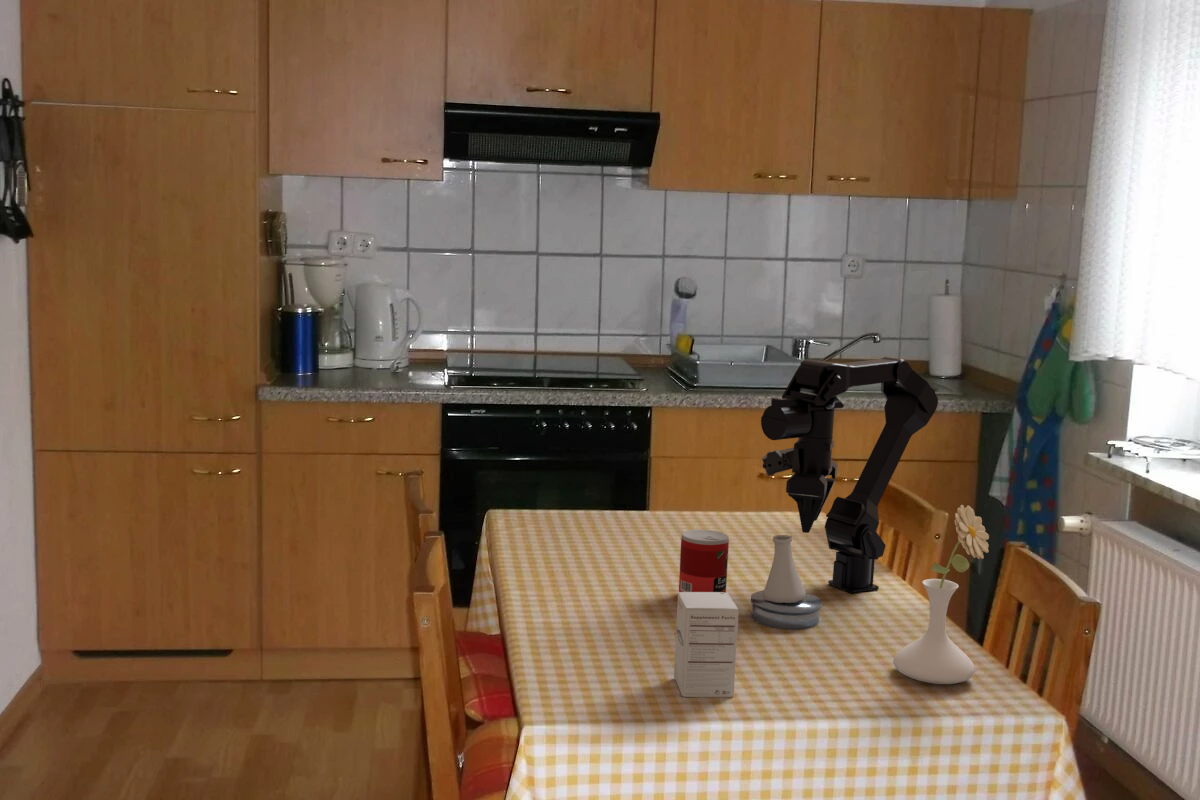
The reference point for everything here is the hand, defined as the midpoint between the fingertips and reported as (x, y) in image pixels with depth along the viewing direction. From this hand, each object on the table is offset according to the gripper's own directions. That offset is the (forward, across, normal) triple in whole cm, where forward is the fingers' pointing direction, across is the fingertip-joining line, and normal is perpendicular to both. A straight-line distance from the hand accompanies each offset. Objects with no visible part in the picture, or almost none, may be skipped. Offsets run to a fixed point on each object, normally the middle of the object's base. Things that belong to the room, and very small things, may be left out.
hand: (809, 526), depth 220 cm
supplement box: (+13, +48, -7) cm, 50 cm away
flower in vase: (+13, +30, +23) cm, 40 cm away
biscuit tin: (+13, +13, -1) cm, 18 cm away
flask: (+9, +13, -2) cm, 16 cm away
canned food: (+13, +8, -16) cm, 22 cm away
